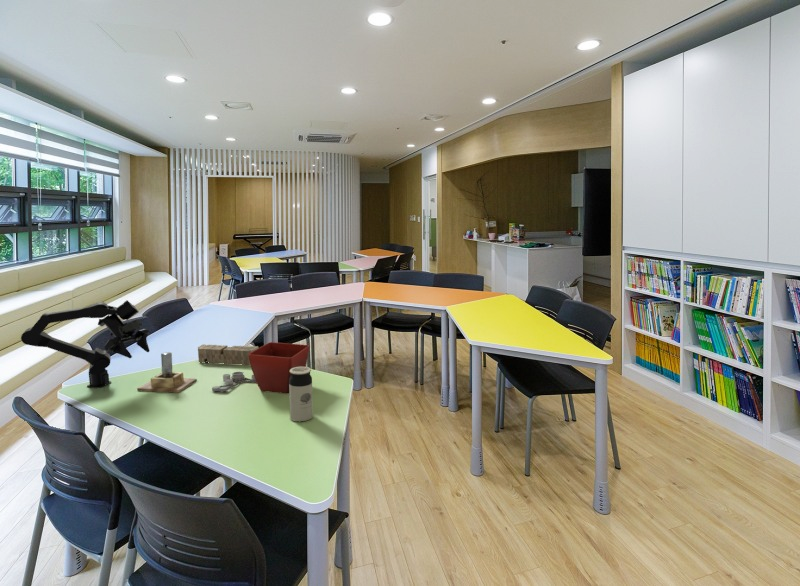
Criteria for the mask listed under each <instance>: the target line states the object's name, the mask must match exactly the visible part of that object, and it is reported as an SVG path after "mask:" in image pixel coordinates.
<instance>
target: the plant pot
mask: <svg viewBox="0 0 800 586" xmlns="http://www.w3.org/2000/svg"><path fill="white" fill-rule="evenodd" d="M309 352H310V345H308V344H298V343H284V342H273V341H270V342H267V343H266V344H264V345H262V346H260V347H258V349H256V350H255V351H253V352H251V353H249V354H248V356H249V361H250V365H249V366H250V368H251V372H252V375H254V377H255V379H256V382H257V383H256V384H257V386H258V388H259V390H260V392H267V393H274V394H275V393H277V394H285V395H288V394H290V392H289V378H290V376H291V373H290V369H292V368H295V367H307V363H308V362H307V361H308V357H309Z"/></svg>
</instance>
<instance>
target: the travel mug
mask: <svg viewBox="0 0 800 586" xmlns="http://www.w3.org/2000/svg"><path fill="white" fill-rule="evenodd" d="M311 372H312V369H311V367H308V366H306V367H295V368H292V369H290V373H291V376H290V378H289V392H290V393H289V416H290V418H289V419H290V420H292V421H293V422H297V421H299V423H301V422H300V421H303V422H307V421H309V420H311V419H313V417H314V413H313V410H314V409H313V377H312V375H311Z"/></svg>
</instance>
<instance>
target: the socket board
mask: <svg viewBox="0 0 800 586" xmlns="http://www.w3.org/2000/svg"><path fill="white" fill-rule="evenodd" d="M172 373H173V377H171V378H162V372H161V373H160V372H159V373H158V374H157V375H154V376H153V377H151V378H150V381H148V382H146V383H144V384H143V385H141V386H139V387H137V388H136V390H142V391H141V392H156V391H157V393H158V392H159V393H160V392H161V393H181V392H183V391H184V390H185V389H186V388H189V387H190V386H191V385H193V384H194V383H196V382H197V381H198V379H197V378H192V377H191V378H187V377H186V378H185V377H184V372H180V371H179V372H178V371H172Z"/></svg>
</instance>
